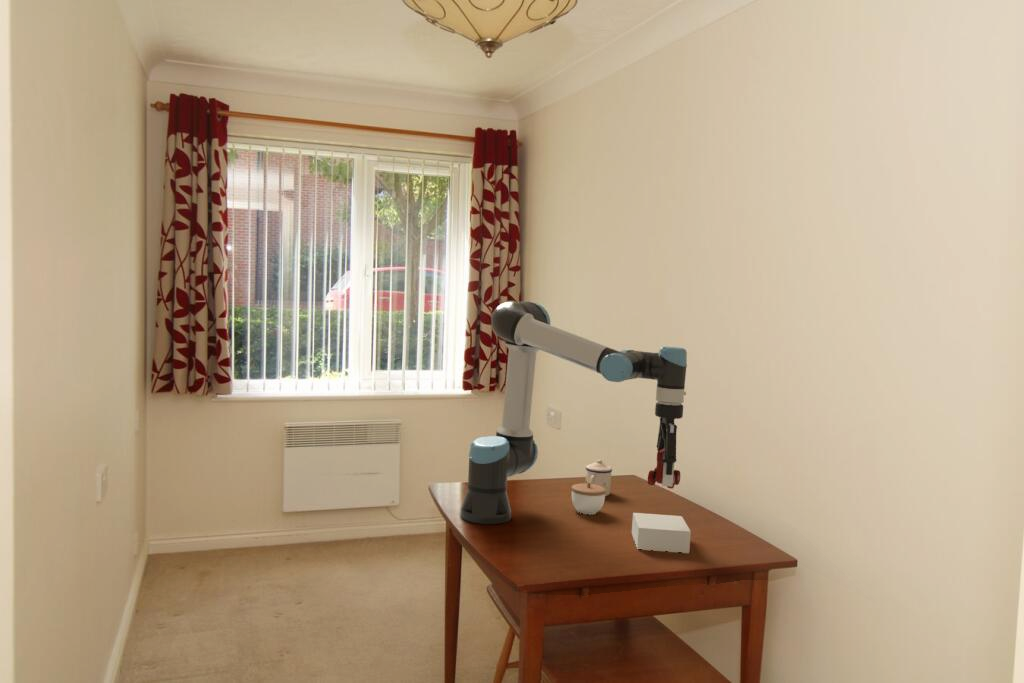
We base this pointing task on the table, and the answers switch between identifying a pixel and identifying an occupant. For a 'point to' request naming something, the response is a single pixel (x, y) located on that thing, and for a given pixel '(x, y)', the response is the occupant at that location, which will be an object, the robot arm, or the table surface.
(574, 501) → the lidded jar
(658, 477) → the toy fire truck
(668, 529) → the cream white block
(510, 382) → the robot arm
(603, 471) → the teacup with lid
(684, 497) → the table surface
